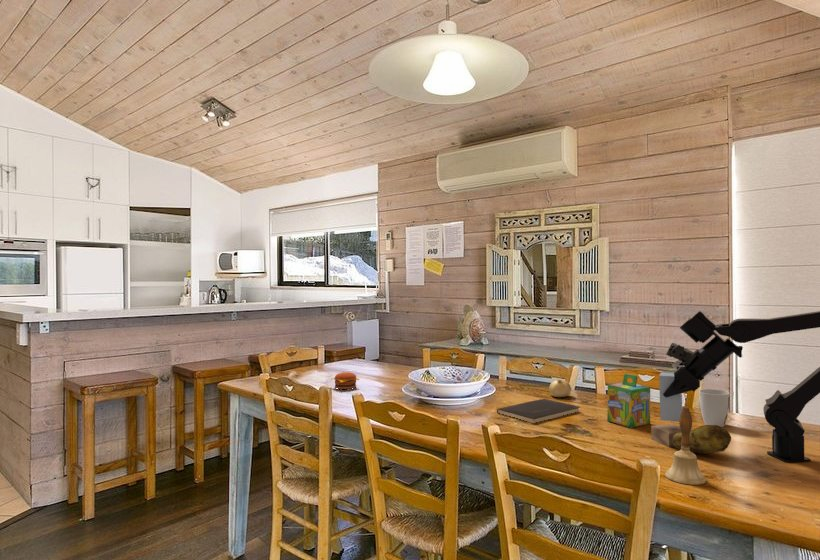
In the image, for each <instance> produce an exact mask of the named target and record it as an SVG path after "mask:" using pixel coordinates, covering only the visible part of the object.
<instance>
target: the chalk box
mask: <svg viewBox="0 0 820 560" xmlns="http://www.w3.org/2000/svg"><path fill="white" fill-rule="evenodd" d="M628 379H631V380H632V382H628ZM637 380H638V375H634V374H629V373H624V374H623V378H622V382H620V383H619V382H618V383H612V384H607V408H606V409H607V410H606V412H607V415H606V416H607V418H606V421H607V422H609V423H614V424H617V425H621V426H623V427H626V428H629V429H633V428H637V427H641V426H647V425H651V387H650V386H647V385H643V384H638V383H637Z"/></svg>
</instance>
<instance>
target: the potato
mask: <svg viewBox="0 0 820 560" xmlns="http://www.w3.org/2000/svg"><path fill="white" fill-rule="evenodd" d="M689 439H690V447H689V448H690V452H692V453H694V454H701V455H702V454H703V455H704V454H711V453H717V452H718V453H720V452H721V453H722V452H725V450H727V449H728V447H729V445H730V443H731V441H732V437H731V434H730V432H728V431H727V430H726V429H725V428H724V427H720V426H717V425H705V424H704V425H700V426H698V427H696V428H694V429H691V432H690V436H689ZM681 443H682V433H681V432H679V433H676V434H675V435H674V436H673V438H672V444H673V445H674V446H675V447H674V448H676V449H677V450H679V451H680V450H681Z"/></svg>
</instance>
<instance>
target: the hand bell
mask: <svg viewBox="0 0 820 560" xmlns="http://www.w3.org/2000/svg"><path fill="white" fill-rule="evenodd" d="M692 417H693V416H692V413H691V411H690V407H689V406H682V411H681V414H680V418H679V426H680V429H681V433H682V443H681V450H680V449H679V450H677V451H675V452H674V454H673V461H672V464H671V466H670V467H669V469H667V470H666V471H665V472H664V473H665V474H664V476H665V477H666V478H667V479H669V480H670V481H673V482H675V483H679V484H683V485H684V484H685V485H691V486H695V485H697V486H699V485H704V484H706V483H707V478H706V476H705V475H704V474H703V473H702V471H701V470H700V468H699V464H698V458H697V455H696V453H694V452H690V448H689V447H690V439H689V436H690V432H691V430H693V429H692V428H693V418H692Z"/></svg>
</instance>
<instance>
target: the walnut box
mask: <svg viewBox="0 0 820 560" xmlns="http://www.w3.org/2000/svg"><path fill="white" fill-rule="evenodd" d="M650 429H651V431H650V434H651V435H650V436H651V441H654V442H656V443H659V444H660V445H663V446H665V447H667V448H676V447H675V446H674V445H673V444H672V438H673V436H674V435H675V434H676V433H679V432H681V429H680V425H676V424H674V423H670V424H658V425H657V424H656V425H651V428H650Z"/></svg>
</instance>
